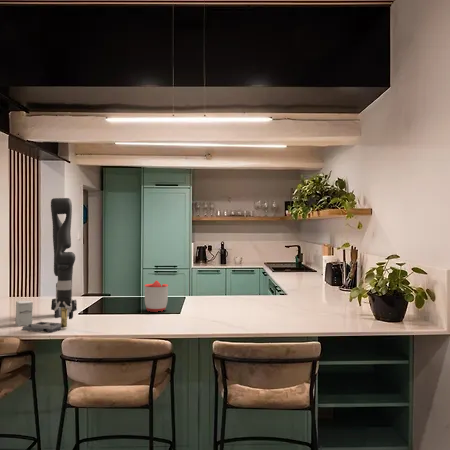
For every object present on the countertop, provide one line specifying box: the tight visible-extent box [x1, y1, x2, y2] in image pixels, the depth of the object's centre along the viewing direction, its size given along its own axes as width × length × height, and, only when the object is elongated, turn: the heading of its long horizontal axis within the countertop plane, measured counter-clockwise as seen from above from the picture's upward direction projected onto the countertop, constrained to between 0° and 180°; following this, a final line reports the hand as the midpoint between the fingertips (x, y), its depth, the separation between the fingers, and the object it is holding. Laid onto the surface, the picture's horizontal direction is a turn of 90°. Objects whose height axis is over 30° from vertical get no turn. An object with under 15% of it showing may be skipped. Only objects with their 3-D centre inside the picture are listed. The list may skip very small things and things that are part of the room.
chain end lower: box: [21, 324, 47, 332], centre depth 222 cm, size 7×13×2 cm, turn 76°
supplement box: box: [15, 300, 34, 327], centre depth 232 cm, size 7×7×13 cm
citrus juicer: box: [144, 280, 169, 313], centre depth 277 cm, size 16×17×20 cm
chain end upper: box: [31, 321, 62, 333], centre depth 221 cm, size 7×13×4 cm, turn 76°
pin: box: [60, 308, 68, 328], centre depth 228 cm, size 4×4×10 cm
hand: (63, 318), depth 228 cm, fingers open, 8 cm apart
